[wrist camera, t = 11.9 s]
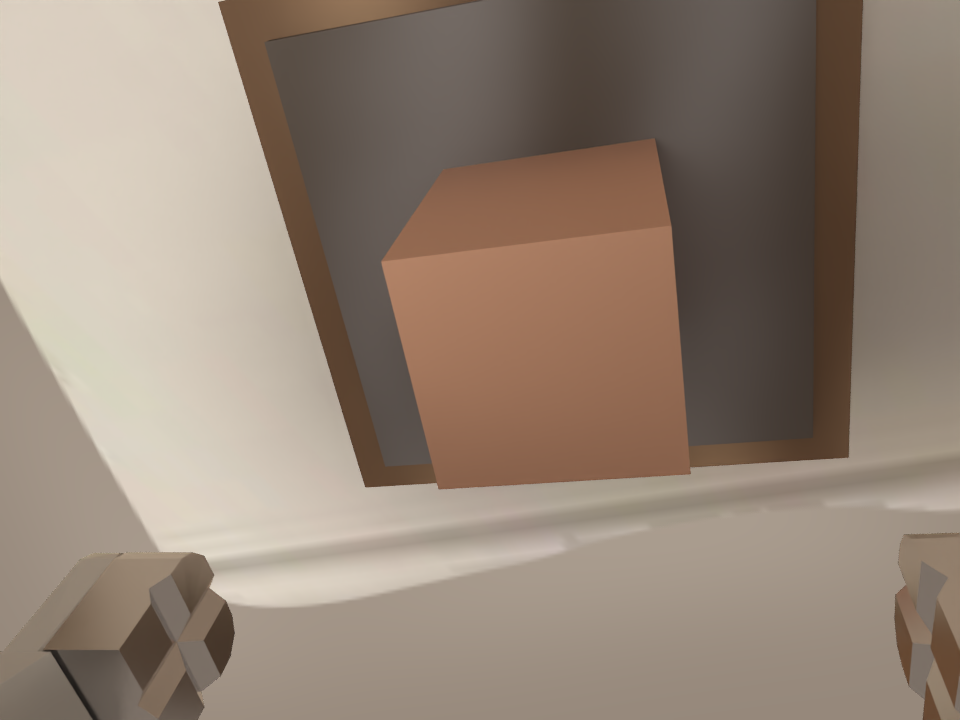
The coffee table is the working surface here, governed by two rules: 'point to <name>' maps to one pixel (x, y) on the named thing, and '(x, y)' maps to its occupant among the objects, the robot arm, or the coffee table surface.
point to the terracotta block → (544, 319)
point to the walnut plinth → (571, 126)
